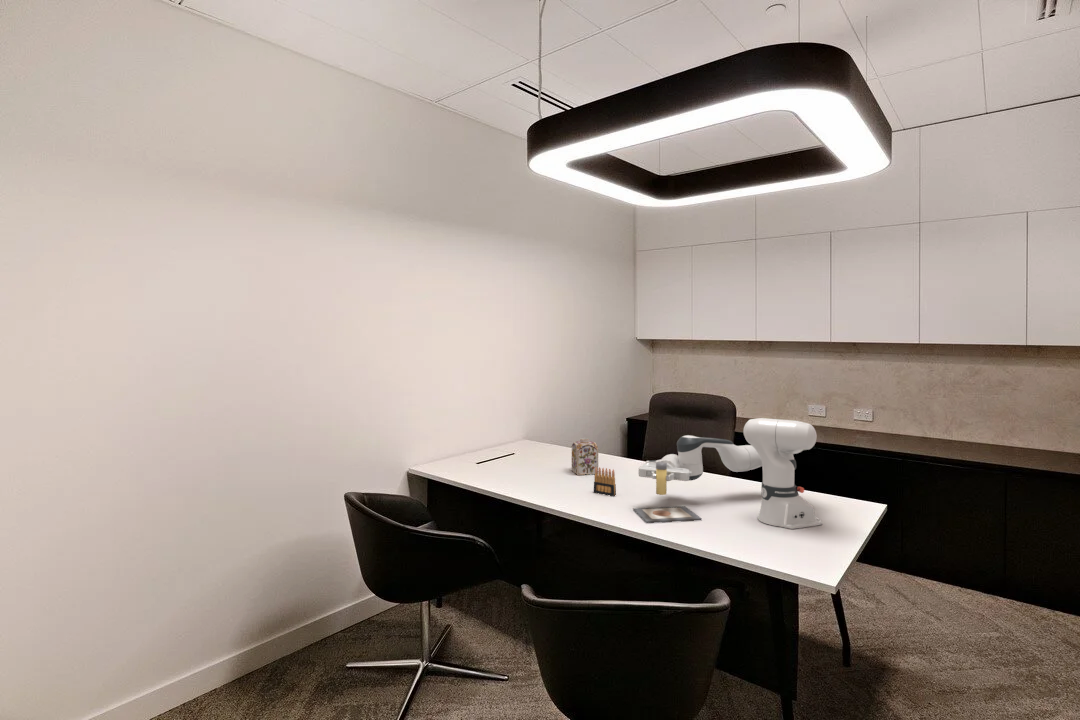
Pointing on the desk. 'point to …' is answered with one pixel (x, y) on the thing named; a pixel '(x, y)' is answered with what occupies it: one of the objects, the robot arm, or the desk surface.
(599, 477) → the ammunition clip
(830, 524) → the desk surface
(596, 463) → the decorative jar
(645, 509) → the grey metal tray
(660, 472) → the marker
